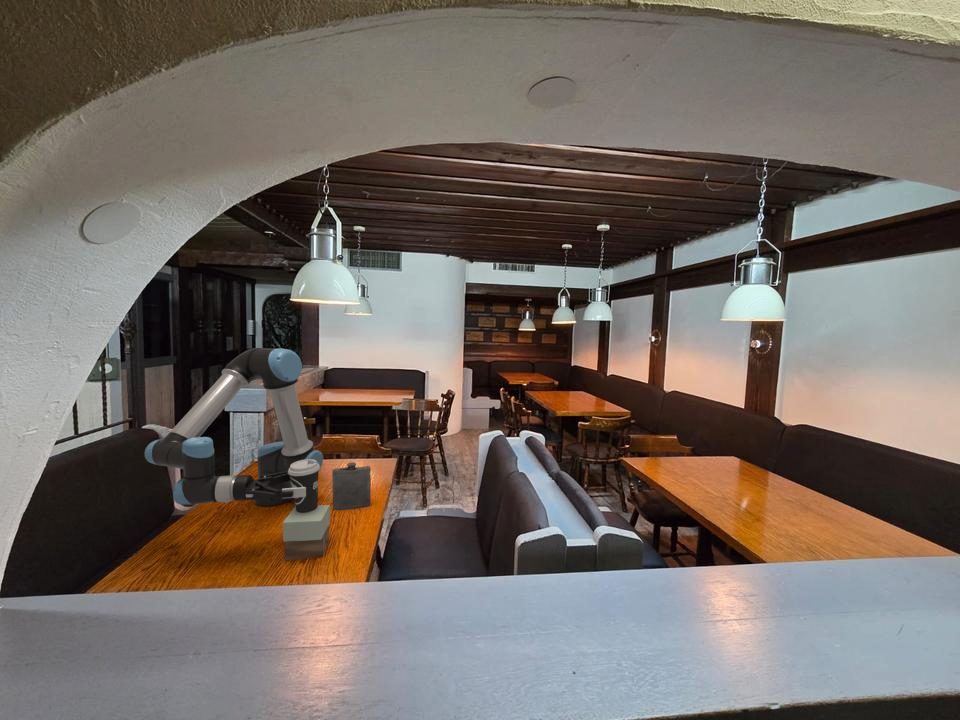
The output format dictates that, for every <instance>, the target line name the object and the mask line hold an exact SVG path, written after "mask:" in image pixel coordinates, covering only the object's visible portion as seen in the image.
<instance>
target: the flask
mask: <svg viewBox="0 0 960 720" xmlns="http://www.w3.org/2000/svg"><path fill="white" fill-rule="evenodd" d="M346 465H347V467H346V466H345V467H340V468H339V467H338V468H337V467H336V468H333V469H332V472H331V473H332V510H333V509H334V510H333V511H346V510H356V509H357V510H358V509H363V508H369V507H371V506H372V505H371V502H372V498H371V497H372V495H371V494H372V493H371V491H372V490H371V485H372V484H371V470H372V469H371V466H369V465H364V466H356V465H357V463H356V462H348V463H347V464H346Z"/></svg>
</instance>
